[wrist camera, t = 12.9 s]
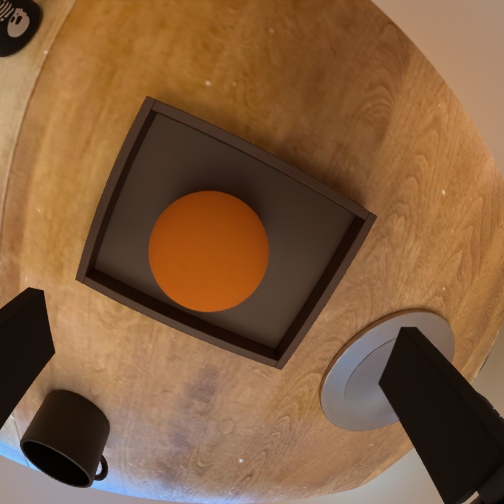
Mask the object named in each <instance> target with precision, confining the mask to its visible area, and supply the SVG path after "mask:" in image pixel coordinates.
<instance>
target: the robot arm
mask: <svg viewBox="0 0 504 504" xmlns="http://www.w3.org/2000/svg"><path fill="white" fill-rule="evenodd" d="M54 354H55V349H54V345H53V340H52V335H51V331H50V325H49V320H48V315H47V309H46V303H45V296H44V290H39V289H35V288H30V287H28V288H27V289H25V290H24V291H23V292H22V293H20V294H19V295H18V296H16V297H15V298H14V299H12V300H11V301H10V302H9V303H7V304H6V305H5V306H4V307H2V308H1V309H0V430H1V428H2V426H3V425H4V423H5V422H6V420H7V419H8V417H9V416H10V414H11V413H12V411H13V410H14V408H15V407H16V405H17V404H18V403H19V401H20V400H21V398H22V397H23V395H24V394H25V393H26V391H27V390H28V388H29V387H30V386H31V384H32V383H33V382H34V380H35V379H36V377H37V376H38V375H39V373H40V372H41V371H42V369H43V368H44V367H45V365H46V364H47V363H48V361H49V360H50V359H51V358H52V356H53V355H54ZM378 384H379V386H380V388H381V389H382V391H383V393H384V394H385V396H386V398H387V400H388V401H389V403H390V405H391V407H392V408H393V410H394V412H395V413H396V415H397V417H398V419H399V420H400V422H401V424H402V426H403V428H404V429H405V431H406V433H407V435H408V436H409V438H410V440H411V442H412V444H413V445H414V447H415V449H416V451H417V453H418V455H419V456H420V458H421V460H422V462H423V464H424V466H425V467H426V469H427V471H428V473H429V475H430V477H431V479H432V481H433V482H434V484H435V486H436V488H437V490H438V492H439V494H440V496H441V498H442V500H443V502H444V504H461V503H463V502H465V501H466V500H467V499H469V498H470V497H471V496H472V495H473V494H474V493H475V492H476V491H477V492H478V494H479V496H478V497H477V498H476V499H474V500H473V501H472V502H471V503H470V504H504V419H503V418H502V417H500V414H499V413H498V412H497V411H496V410H495V409H493V406H492V405H491V404H490V403H489V401H488V400H487V399H486V398H485V397H484V396H482V395H481V394H479V393H478V392H476V391H475V390H474V388H473V387H472V386H471V385H470V384H469V383H468V382H467V381H466V379H465V378H464V377H463V376H462V375H461V374H460V373H459V372H458V371H457V369H456V368H455V367H454V366H453V365H452V364H451V363H450V362H449V361H448V360H447V359H446V357H445V356H444V355H443V354H442V353H441V352H440V351H439V350H438V349H437V348H436V347H435V346H434V345H433V344H432V343H431V342H430V340H429V339H428V338H427V337H426V336H425V335H424V334H423V333H422V332H421V331H420V330H419V329H418V328H417V327H400V330H399V333H398V336H397V338H396V341H395V344H394V346H393V349H392V351H391V354H390V356H389V359H388V361H387V364H386V366H385V368H384V371H383V373H382V375H381V378H380V380H379V382H378Z"/></svg>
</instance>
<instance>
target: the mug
mask: <svg viewBox="0 0 504 504" xmlns="http://www.w3.org/2000/svg"><path fill="white" fill-rule="evenodd" d="M108 435H109V424H108V422H107V420H106V418H105V417H104V415H103V414H102V413H101V412H100V411H99V409H97V408H96V407H95V406H94V405H93V404H91V403H90V402H89V401H87V400H86V399H84V398H82V397H80V396H78V395H76V394H74V393H71V392H67V391H53V392H51V393H49V394H48V395H47V396H46V398H45V400H44V401H43V403H42V405H41V406H40V408H39V410H38V411H37V413H36V415H35V416H34V418H33V420H32V421H31V423H30V425H29V426H28V428H27V430H26V432H25V433H24V435H23V437H22V439H21V441H20V447H21V450H22V452H23V453H24V455H25V456H26V457H27V459H28V460H29V461H30V462H31V463H32V464H33V465H35V466H36V467H37V468H38V469H39V470H41V471H42V472H44V473H45V474H47V475H48V476H50V477H52V478H54V479H55V480H58V481H59V482H62V483H64V484H67V485H70V486H74V487H79V488H86V487H90V486H91V485H92V483H93V481H94V480H97V481H101V480H103V479H105V478H106V476H107V474H108V465H107V462H106V459H105V458H104V456H103V455H102V453H103V450H104V447H105V444H106V441H107V438H108ZM99 462H101V465H102V470H101V473H100V474H98V475H95V474H96V471H97V468H98V465H99Z"/></svg>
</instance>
